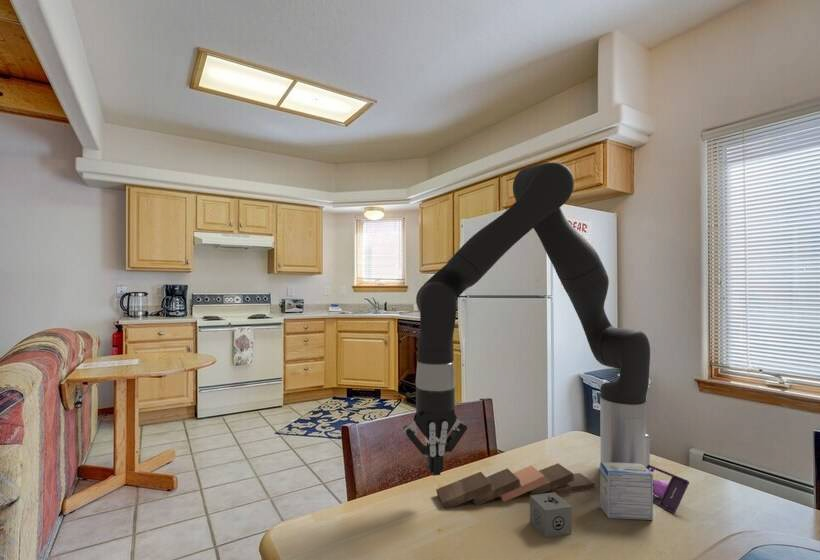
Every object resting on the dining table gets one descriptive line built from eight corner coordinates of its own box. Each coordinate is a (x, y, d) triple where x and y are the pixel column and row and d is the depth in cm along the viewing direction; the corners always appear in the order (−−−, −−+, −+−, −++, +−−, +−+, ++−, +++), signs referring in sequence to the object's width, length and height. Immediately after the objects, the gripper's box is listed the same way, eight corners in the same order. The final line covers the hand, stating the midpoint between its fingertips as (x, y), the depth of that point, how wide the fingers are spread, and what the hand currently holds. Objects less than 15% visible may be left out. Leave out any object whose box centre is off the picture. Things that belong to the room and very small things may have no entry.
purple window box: (670, 510, 77) (631, 490, 85) (688, 525, 78) (647, 504, 86) (686, 478, 79) (645, 462, 87) (702, 493, 80) (661, 475, 88)
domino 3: (491, 490, 86) (532, 472, 89) (503, 502, 81) (546, 483, 84) (489, 482, 86) (531, 465, 89) (501, 494, 81) (544, 476, 84)
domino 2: (466, 493, 85) (509, 475, 87) (475, 506, 80) (521, 486, 82) (464, 486, 84) (507, 468, 87) (473, 498, 80) (519, 479, 82)
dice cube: (571, 536, 71) (571, 506, 71) (545, 540, 69) (545, 510, 69) (554, 519, 75) (554, 492, 76) (530, 523, 74) (529, 495, 74)
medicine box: (642, 508, 79) (642, 463, 79) (653, 521, 75) (653, 473, 75) (599, 506, 80) (599, 461, 80) (608, 519, 76) (608, 471, 76)
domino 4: (519, 485, 88) (559, 470, 91) (533, 497, 83) (574, 480, 86) (518, 478, 88) (557, 463, 91) (531, 489, 83) (573, 473, 86)
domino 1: (437, 496, 83) (482, 478, 85) (445, 510, 78) (492, 490, 80) (435, 489, 83) (480, 471, 85) (443, 502, 78) (490, 483, 80)
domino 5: (539, 485, 89) (579, 480, 92) (553, 497, 84) (594, 491, 87) (539, 478, 89) (579, 472, 92) (553, 489, 84) (594, 483, 87)
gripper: (407, 391, 75) (407, 487, 75) (474, 386, 79) (474, 478, 78) (397, 382, 82) (397, 469, 82) (459, 378, 86) (459, 462, 86)
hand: (435, 473), depth 80 cm, fingers closed
